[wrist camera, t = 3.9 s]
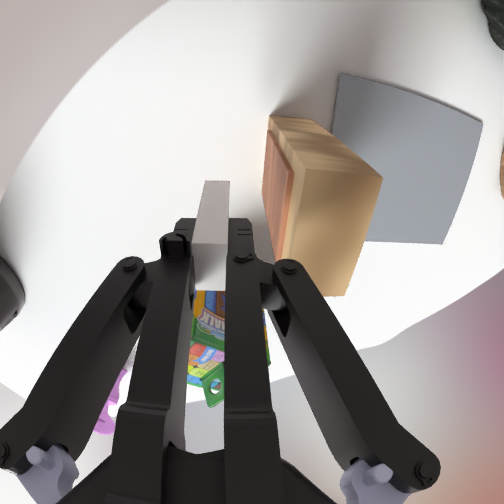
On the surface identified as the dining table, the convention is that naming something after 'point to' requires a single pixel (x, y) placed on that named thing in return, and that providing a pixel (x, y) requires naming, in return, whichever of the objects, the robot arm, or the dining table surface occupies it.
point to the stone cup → (502, 175)
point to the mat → (407, 157)
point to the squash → (496, 20)
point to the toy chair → (104, 420)
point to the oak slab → (317, 200)
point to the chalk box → (210, 344)
